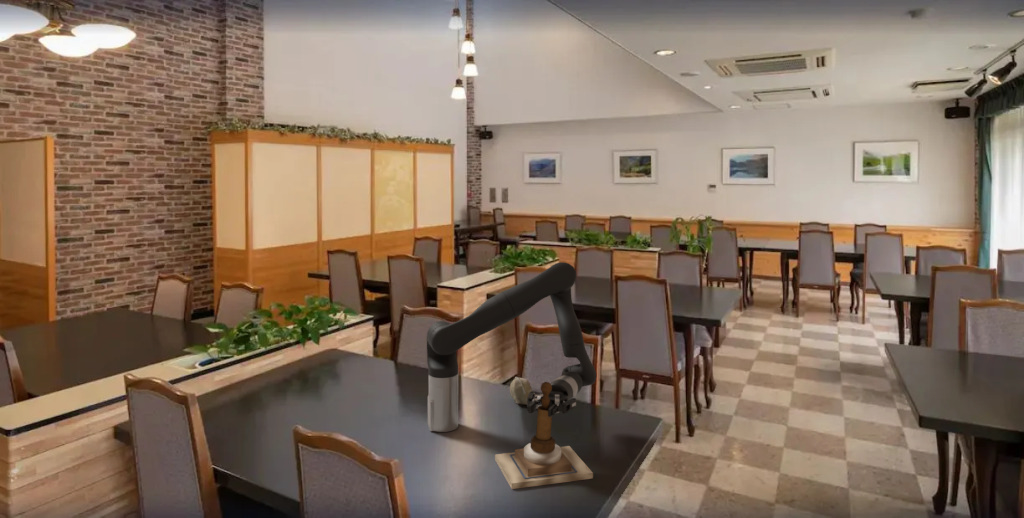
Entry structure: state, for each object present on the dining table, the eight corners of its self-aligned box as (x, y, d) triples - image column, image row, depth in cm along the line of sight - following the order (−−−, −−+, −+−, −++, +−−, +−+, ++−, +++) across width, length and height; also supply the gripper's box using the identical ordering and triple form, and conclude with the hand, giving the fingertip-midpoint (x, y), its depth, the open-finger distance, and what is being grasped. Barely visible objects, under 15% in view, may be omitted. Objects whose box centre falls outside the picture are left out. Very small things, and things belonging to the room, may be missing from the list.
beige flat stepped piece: (511, 489, 152) (511, 468, 152) (495, 459, 169) (495, 440, 168) (592, 478, 158) (593, 458, 158) (569, 450, 175) (569, 432, 174)
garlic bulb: (524, 413, 209) (523, 390, 205) (503, 404, 214) (503, 382, 209) (538, 398, 216) (538, 375, 212) (518, 389, 220) (517, 367, 216)
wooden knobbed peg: (553, 454, 159) (557, 387, 158) (528, 451, 160) (532, 384, 159) (556, 445, 166) (560, 380, 164) (532, 442, 167) (536, 378, 165)
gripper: (538, 375, 177) (514, 393, 161) (585, 382, 171) (565, 401, 156) (538, 400, 178) (514, 420, 162) (585, 408, 172) (565, 430, 156)
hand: (539, 411), depth 159 cm, fingers open, 5 cm apart
